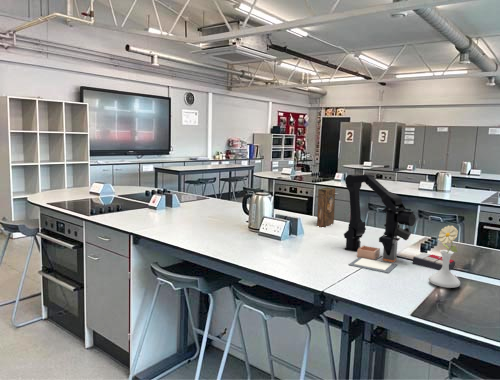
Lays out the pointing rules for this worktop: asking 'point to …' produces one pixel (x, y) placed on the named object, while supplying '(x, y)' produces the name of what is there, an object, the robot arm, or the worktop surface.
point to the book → (325, 207)
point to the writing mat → (373, 265)
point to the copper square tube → (368, 252)
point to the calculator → (431, 261)
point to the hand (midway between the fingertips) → (389, 253)
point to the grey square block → (391, 253)
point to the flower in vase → (446, 260)
